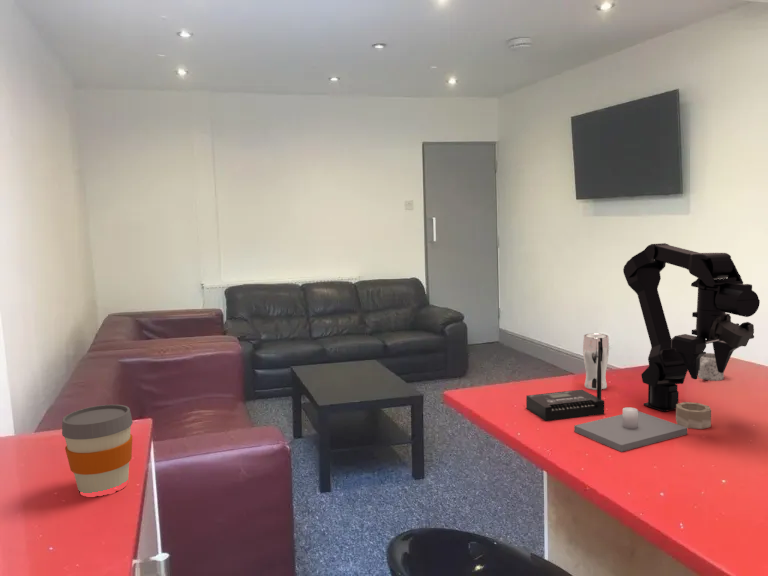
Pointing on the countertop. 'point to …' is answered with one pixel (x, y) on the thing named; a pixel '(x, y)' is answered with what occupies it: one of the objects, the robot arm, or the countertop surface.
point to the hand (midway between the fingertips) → (707, 375)
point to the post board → (630, 430)
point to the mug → (709, 368)
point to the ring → (693, 415)
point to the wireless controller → (568, 402)
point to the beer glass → (595, 359)
